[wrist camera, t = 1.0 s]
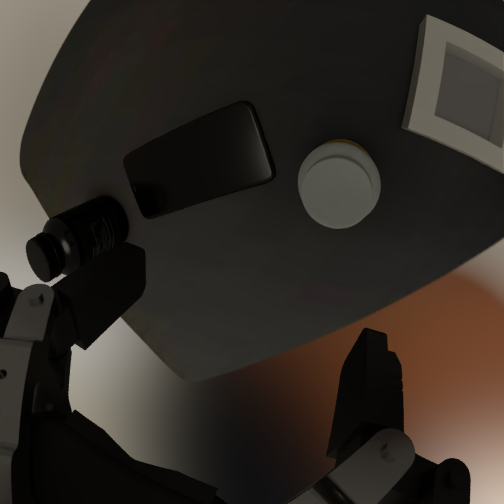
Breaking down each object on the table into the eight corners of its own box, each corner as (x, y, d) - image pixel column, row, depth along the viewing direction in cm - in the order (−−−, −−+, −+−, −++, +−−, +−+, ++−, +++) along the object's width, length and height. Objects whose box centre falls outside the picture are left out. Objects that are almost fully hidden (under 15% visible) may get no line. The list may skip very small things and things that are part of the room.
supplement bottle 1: (92, 235, 36) (26, 275, 26) (92, 188, 33) (16, 221, 23) (129, 253, 35) (61, 302, 25) (131, 203, 32) (51, 244, 22)
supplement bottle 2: (383, 183, 23) (401, 217, 14) (330, 209, 25) (318, 256, 17) (352, 126, 22) (355, 127, 13) (299, 156, 24) (270, 175, 16)
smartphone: (252, 97, 23) (124, 156, 30) (249, 96, 23) (119, 157, 29) (280, 178, 26) (148, 219, 32) (278, 180, 25) (143, 222, 32)
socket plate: (419, 25, 15) (427, 14, 13) (514, 73, 13) (529, 70, 11) (401, 127, 20) (408, 128, 18) (496, 170, 18) (511, 177, 16)
